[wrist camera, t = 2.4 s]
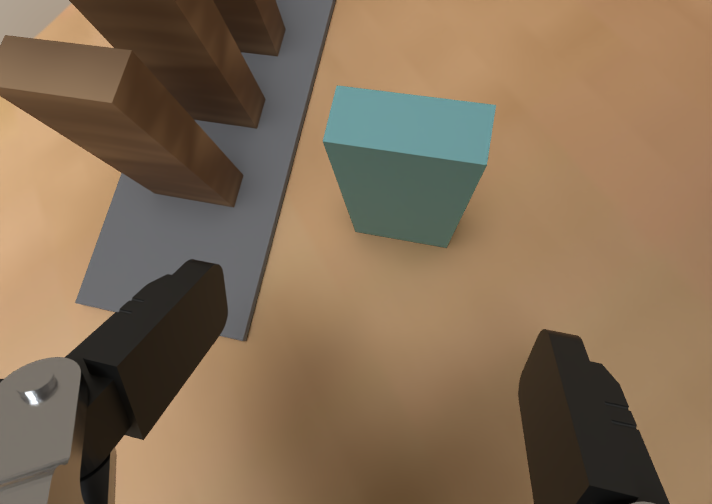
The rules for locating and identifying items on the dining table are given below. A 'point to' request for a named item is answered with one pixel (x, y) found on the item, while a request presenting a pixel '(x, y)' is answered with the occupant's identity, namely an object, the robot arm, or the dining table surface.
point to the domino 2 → (117, 116)
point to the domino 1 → (184, 54)
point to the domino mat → (211, 221)
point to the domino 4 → (407, 160)
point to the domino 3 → (253, 25)
